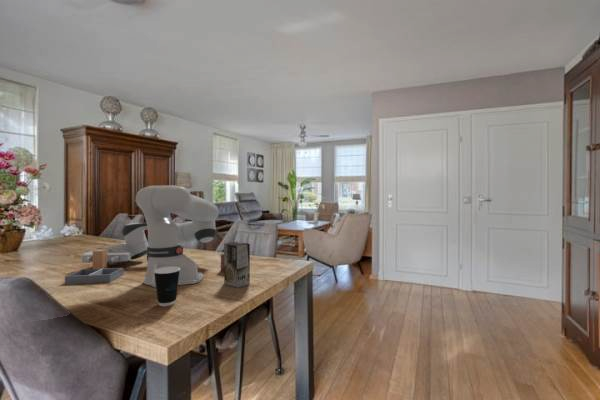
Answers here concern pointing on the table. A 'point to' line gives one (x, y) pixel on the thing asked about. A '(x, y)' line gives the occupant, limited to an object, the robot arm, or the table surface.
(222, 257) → the lighter
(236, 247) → the coffee box
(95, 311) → the table surface
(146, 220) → the robot arm
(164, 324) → the table surface
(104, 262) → the block
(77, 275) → the organiser
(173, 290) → the dixie cup
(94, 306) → the table surface
